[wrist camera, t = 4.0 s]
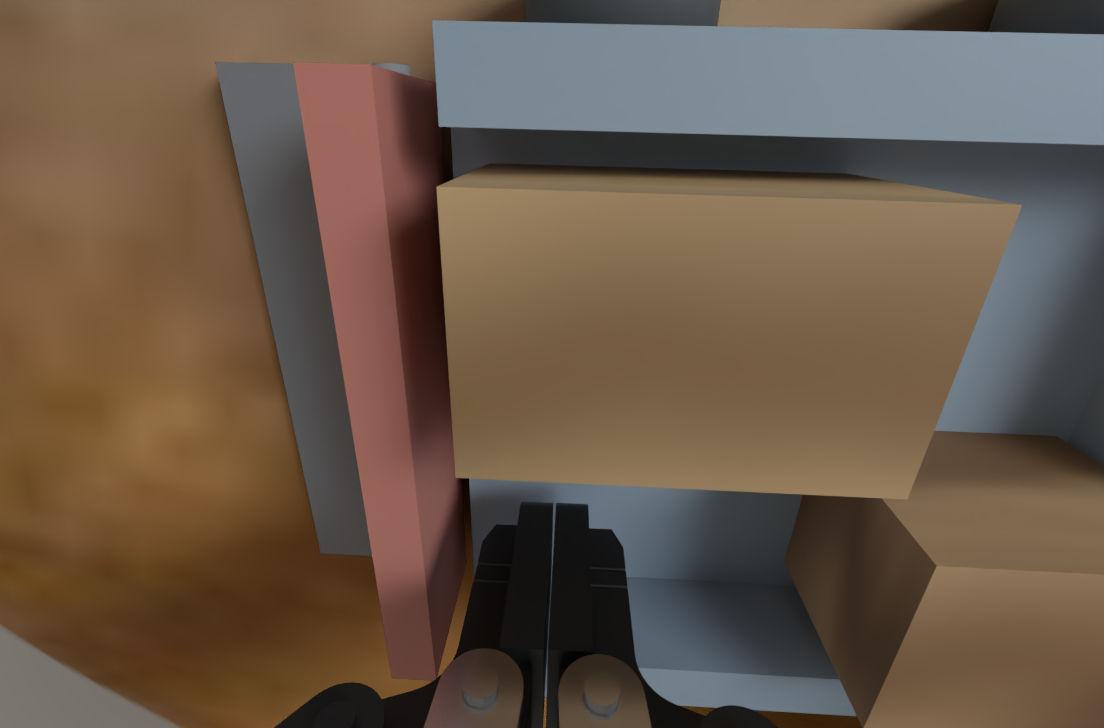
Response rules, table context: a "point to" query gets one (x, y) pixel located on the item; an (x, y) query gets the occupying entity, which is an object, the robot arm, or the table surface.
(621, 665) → the robot arm
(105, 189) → the table surface
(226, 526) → the table surface
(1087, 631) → the small cardboard box
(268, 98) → the trailer bed
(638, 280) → the tan rectangular block
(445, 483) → the panel
